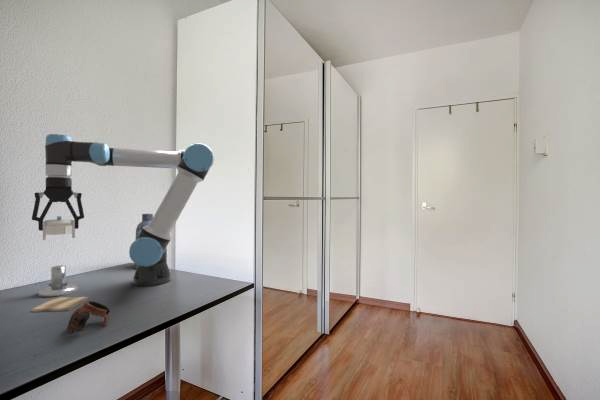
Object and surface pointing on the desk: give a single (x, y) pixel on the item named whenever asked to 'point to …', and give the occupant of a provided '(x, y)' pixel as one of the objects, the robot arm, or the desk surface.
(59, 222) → the cap
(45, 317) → the desk surface
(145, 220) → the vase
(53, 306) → the coaster
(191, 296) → the desk surface
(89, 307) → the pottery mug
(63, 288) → the bayonet post
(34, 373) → the desk surface
